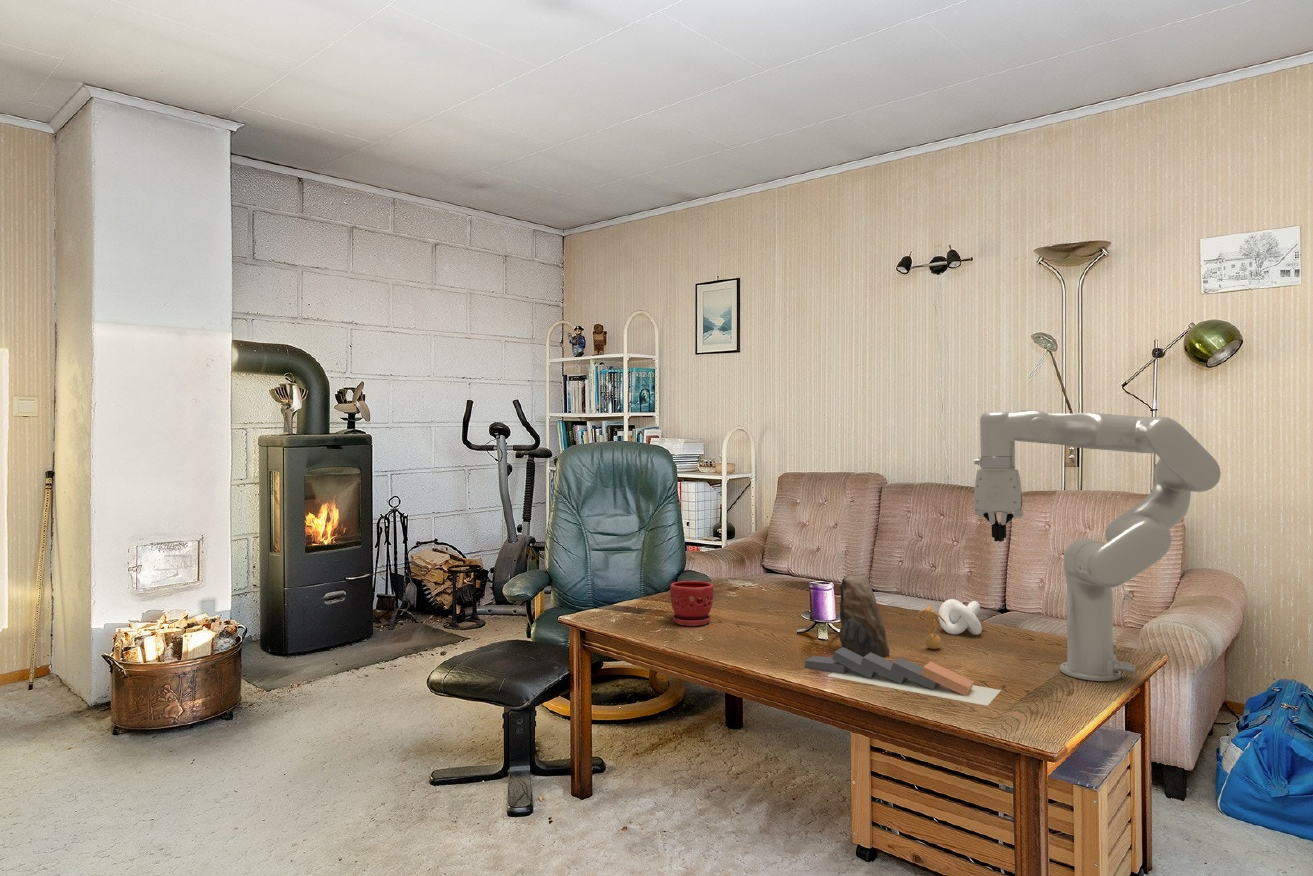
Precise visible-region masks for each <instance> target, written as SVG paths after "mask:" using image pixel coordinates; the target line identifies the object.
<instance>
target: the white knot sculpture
mask: <svg viewBox="0 0 1313 876" xmlns="http://www.w3.org/2000/svg"><path fill="white" fill-rule="evenodd" d="M980 610H981V604H980V603H979V602H978V601H976V600H972V601H970V602H969V603H968V604H967V605H965V604H964V603H962V601H960V600H957V599H954V598H950V599H949V598H948V599H946V600H945V601H944V602H942V604H941V605H940V607H939V610H938V614H939V615H940V616H941V617H942V618H943V619H944V621H945V622H946V624H945V623H944V622H943V621H942V620H941V618H940V617H938V621H939V624H940V626H941V628H942V629H943V630H944V632H946V633H948V634H949V635H954V636H955V635H960V634H961V633H963V632H964V631H966V629H967V631H968V632H969V633H970V634H972V635H973V636H978V635H980V634H981V633H982V632H983V630H982V629H983V628H982V625H981V621H980V620H979V618H978V617H977V615H978V613H979V612H980ZM946 625H947V626H946Z"/></svg>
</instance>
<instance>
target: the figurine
mask: <svg viewBox="0 0 1313 876" xmlns="http://www.w3.org/2000/svg"><path fill="white" fill-rule="evenodd" d="M919 614H924V615H925V619H924V622H925V624H926V625H927V628H926V629H927V632H928V635H926V637H925V640H924V641H925V644H926V646H927V647H928V648H929V649H931V650H937V649H939V648H940V647H941V645H942V639H941V637H940V636H939V635H938V634H937V633H936V632H935V631H936V629H937V627H938V624H937V622H936V619H934V616H936V617H938V618H939V617H940V618H941V620H942V621H943V622H944V623H945V624H946V622H945V621H944V619H943V618H942V617H941V616H940V615H939V612H938V613H937V612H936V611H935V610H934V609H933V606H932V605H931V604H929V605H928V606H927V607H926V608H923V609H922V610H919V611H918V612H916V615H915V622H918V620H919ZM931 625H932V626H934V627H933V628H932V633H931V630H930V629H931ZM946 626H947V625H946Z"/></svg>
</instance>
